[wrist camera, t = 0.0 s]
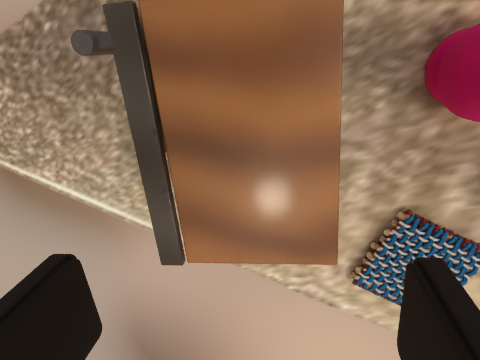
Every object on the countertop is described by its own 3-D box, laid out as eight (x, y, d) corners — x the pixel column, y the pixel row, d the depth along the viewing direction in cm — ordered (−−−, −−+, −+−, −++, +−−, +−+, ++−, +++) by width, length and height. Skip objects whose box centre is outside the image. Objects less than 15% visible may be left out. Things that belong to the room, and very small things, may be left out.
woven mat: (344, 275, 37) (347, 287, 35) (400, 203, 33) (406, 212, 31) (424, 312, 37) (431, 326, 36) (489, 245, 33) (501, 257, 31)
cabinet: (186, 22, 29) (101, 4, 16) (319, 6, 27) (345, -30, 14) (209, 183, 35) (161, 265, 22) (319, 180, 33) (338, 268, 20)
